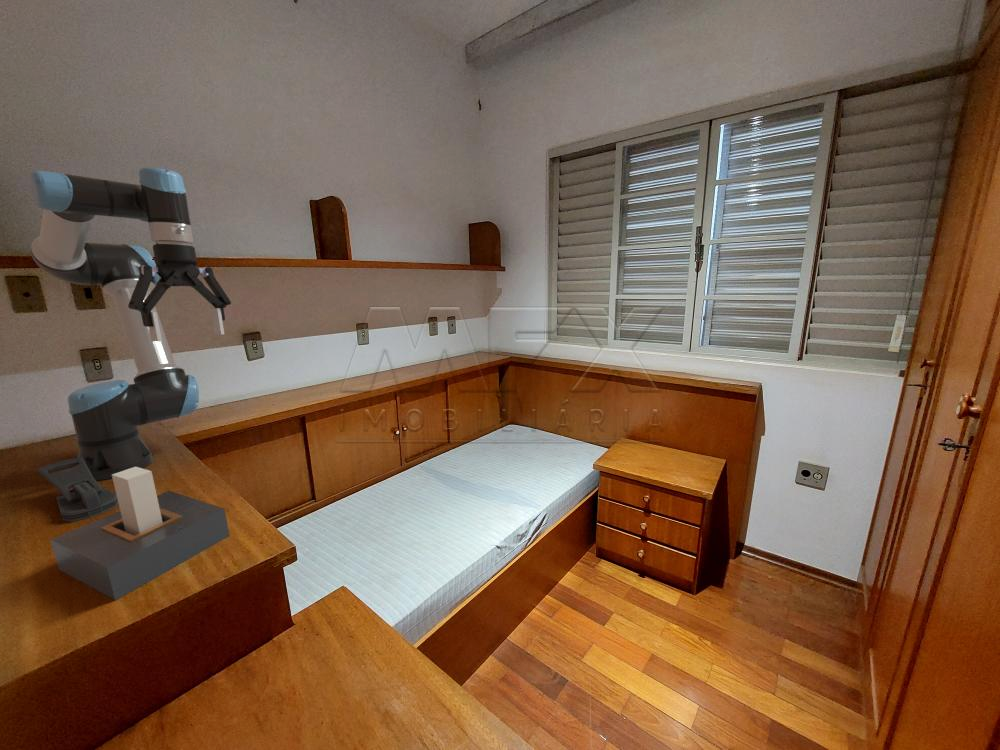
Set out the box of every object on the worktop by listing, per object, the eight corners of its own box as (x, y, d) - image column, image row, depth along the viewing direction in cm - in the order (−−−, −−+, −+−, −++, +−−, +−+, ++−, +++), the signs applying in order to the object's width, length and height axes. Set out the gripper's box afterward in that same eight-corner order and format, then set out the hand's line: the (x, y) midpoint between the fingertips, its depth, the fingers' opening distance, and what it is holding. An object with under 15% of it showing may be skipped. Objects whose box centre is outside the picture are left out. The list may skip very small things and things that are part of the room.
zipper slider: (84, 454, 102) (117, 479, 89) (90, 478, 103) (123, 506, 90) (31, 468, 94) (59, 497, 81) (39, 493, 96) (67, 526, 83)
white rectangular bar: (130, 554, 74) (111, 474, 70) (153, 542, 77) (135, 466, 74) (146, 560, 72) (127, 479, 68) (168, 549, 75) (151, 471, 72)
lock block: (59, 569, 70) (49, 538, 68) (174, 516, 86) (168, 489, 85) (115, 600, 63) (106, 565, 62) (229, 535, 79) (224, 507, 78)
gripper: (112, 238, 78) (134, 345, 83) (238, 248, 100) (250, 332, 105) (92, 239, 81) (115, 343, 86) (220, 249, 103) (232, 330, 108)
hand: (190, 337), depth 95 cm, fingers open, 13 cm apart
